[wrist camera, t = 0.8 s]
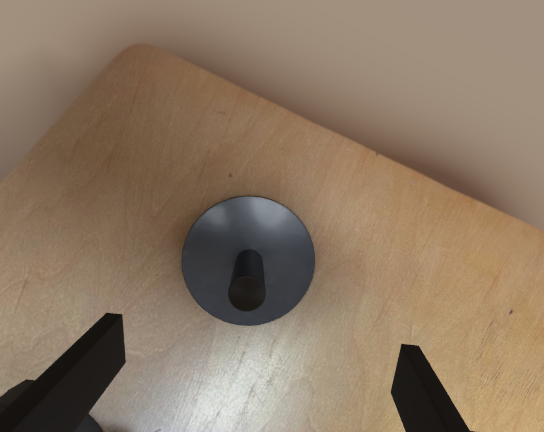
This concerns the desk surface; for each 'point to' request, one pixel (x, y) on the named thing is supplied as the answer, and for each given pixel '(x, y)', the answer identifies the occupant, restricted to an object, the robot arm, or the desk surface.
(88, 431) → the pot
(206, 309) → the lid
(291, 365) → the desk surface
